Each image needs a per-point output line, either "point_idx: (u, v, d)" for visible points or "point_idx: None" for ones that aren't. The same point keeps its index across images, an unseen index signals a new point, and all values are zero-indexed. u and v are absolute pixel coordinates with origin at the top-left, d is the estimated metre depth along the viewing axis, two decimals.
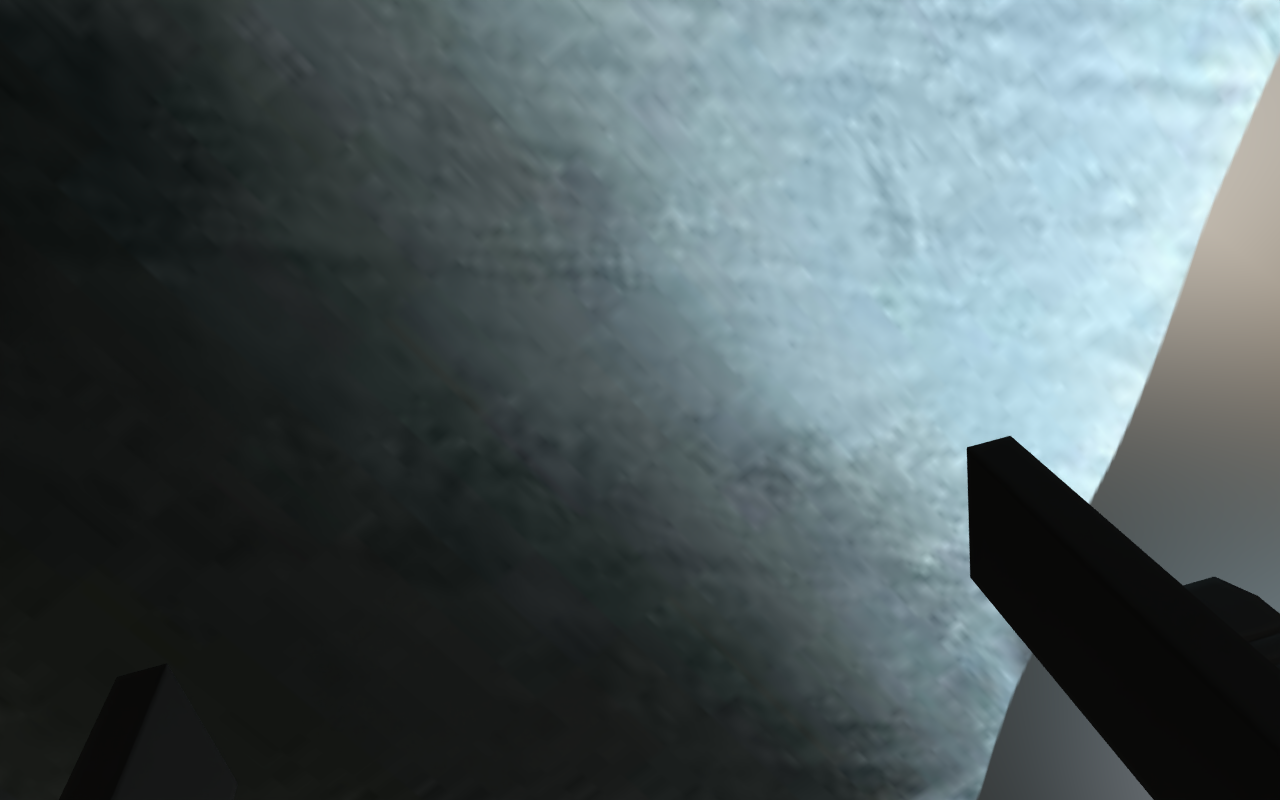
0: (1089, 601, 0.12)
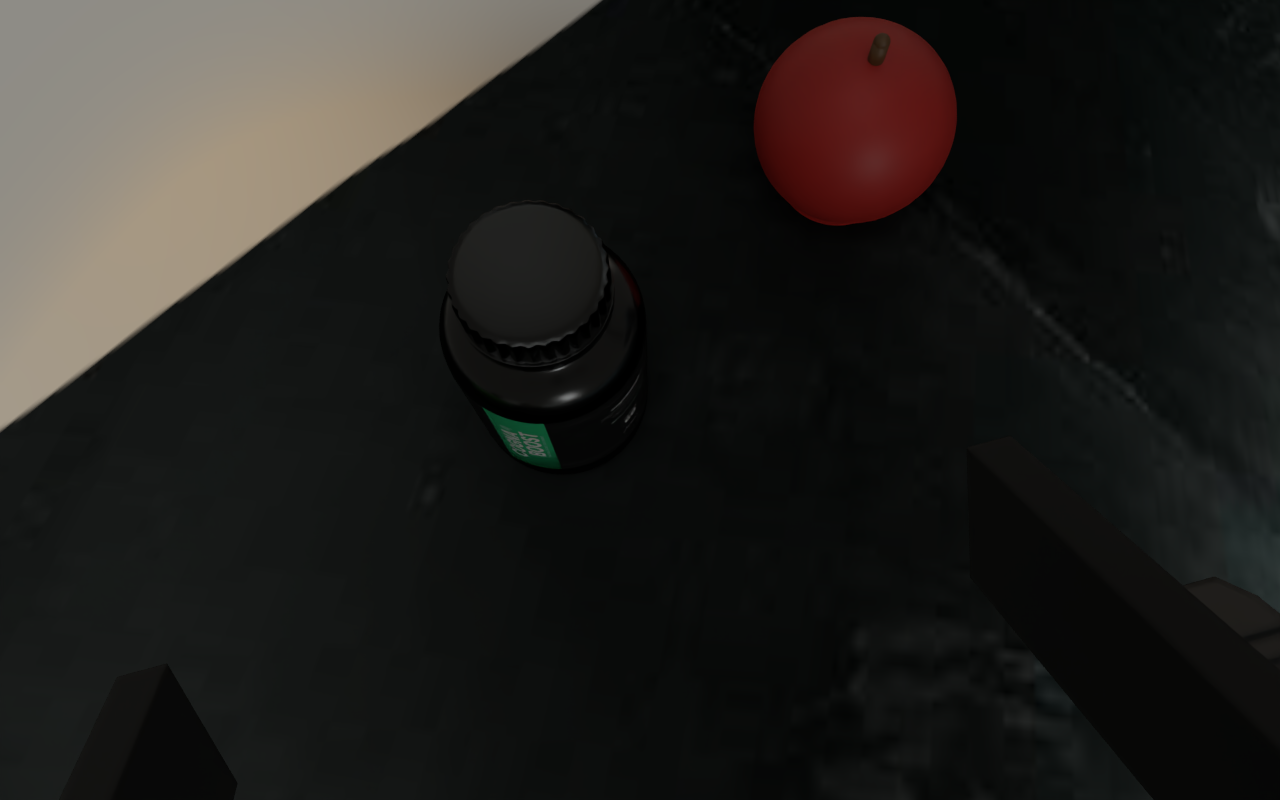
0: (1089, 601, 0.12)
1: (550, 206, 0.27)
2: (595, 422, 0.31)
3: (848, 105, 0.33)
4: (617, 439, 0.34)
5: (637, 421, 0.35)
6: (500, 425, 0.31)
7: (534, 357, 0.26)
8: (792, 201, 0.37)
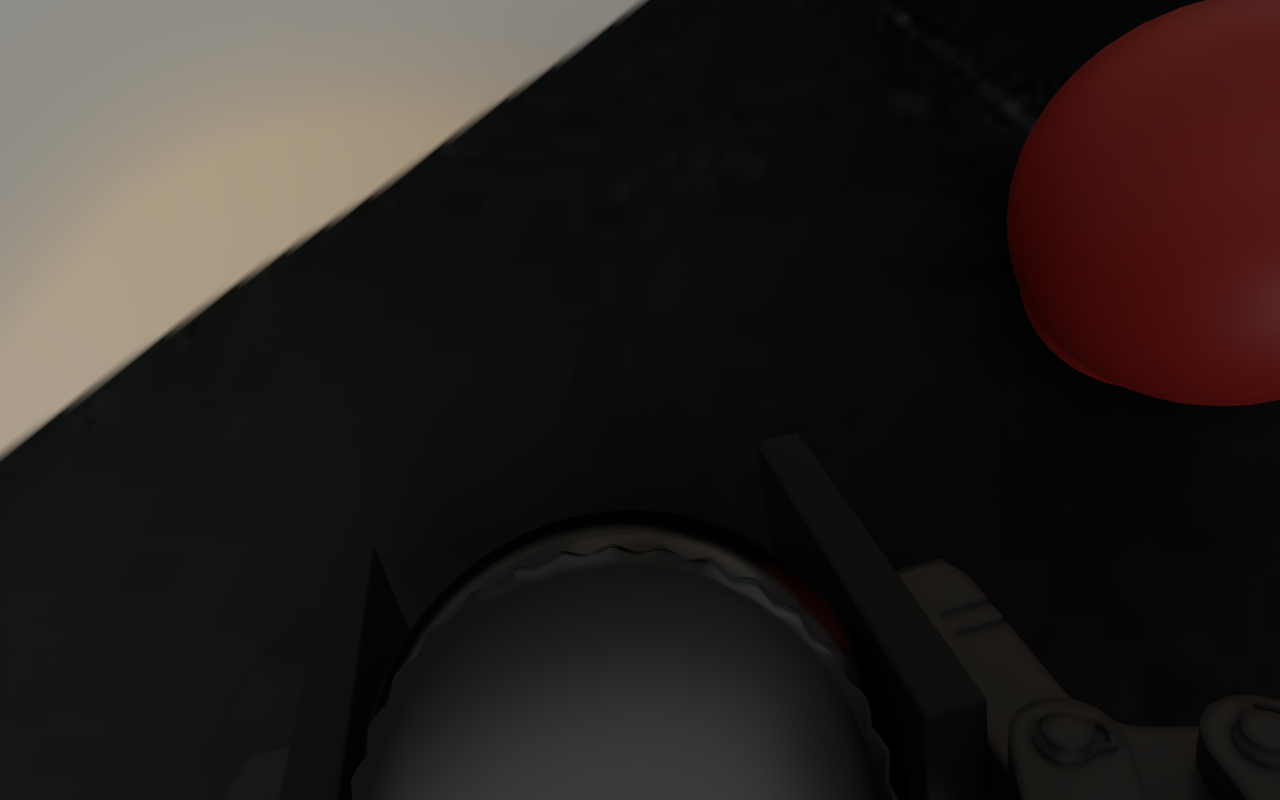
0: (825, 580, 0.13)
1: (691, 571, 0.08)
2: None
3: None
4: None
5: None
6: None
7: None
8: (1098, 364, 0.18)
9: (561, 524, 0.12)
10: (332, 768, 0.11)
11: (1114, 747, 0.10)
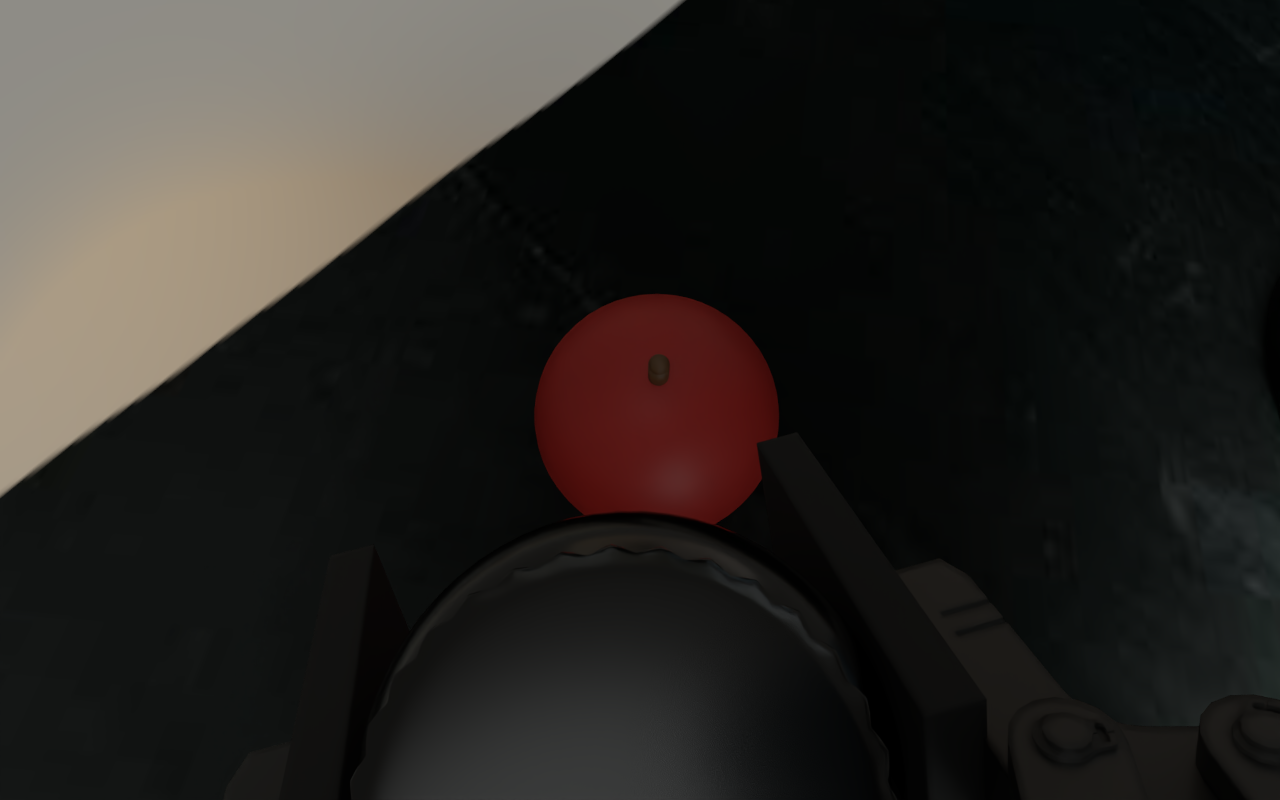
0: (825, 580, 0.13)
1: (690, 572, 0.08)
2: None
3: (623, 435, 0.26)
4: None
5: None
6: None
7: None
8: None
9: (560, 524, 0.12)
10: (332, 768, 0.11)
11: (1114, 747, 0.10)
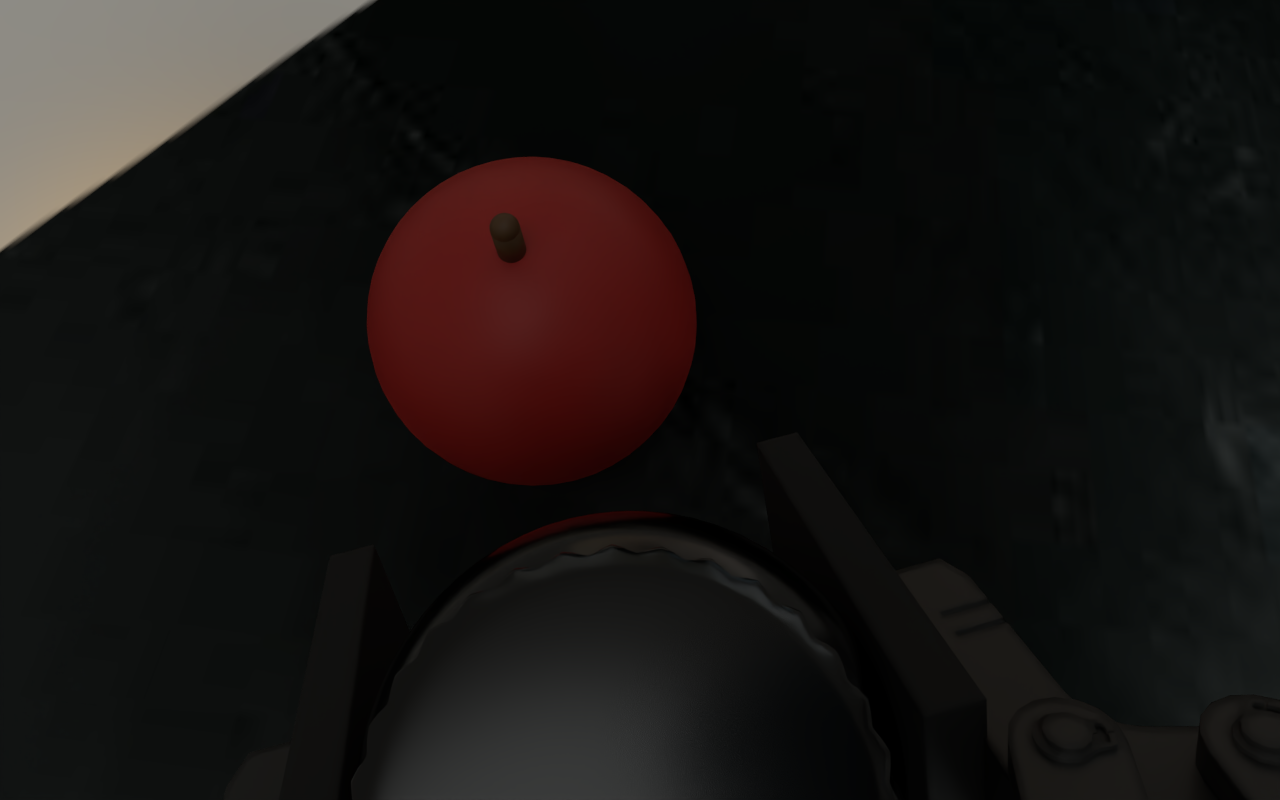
0: (825, 580, 0.13)
1: (691, 572, 0.08)
2: None
3: (463, 333, 0.19)
4: None
5: None
6: None
7: None
8: None
9: (561, 525, 0.12)
10: (332, 768, 0.11)
11: (1114, 747, 0.10)
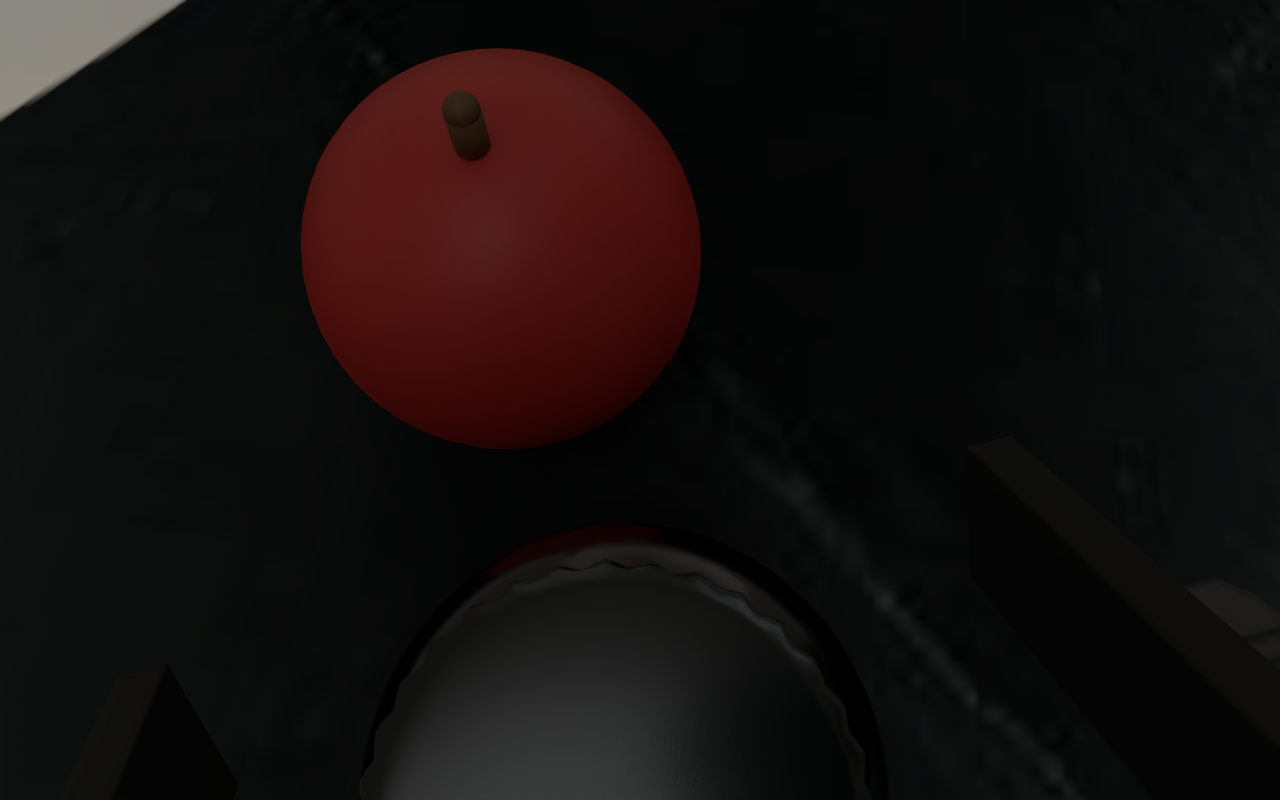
0: (1089, 601, 0.12)
1: (679, 586, 0.09)
2: None
3: (410, 248, 0.15)
4: None
5: None
6: None
7: None
8: None
9: (557, 537, 0.12)
10: None
11: None
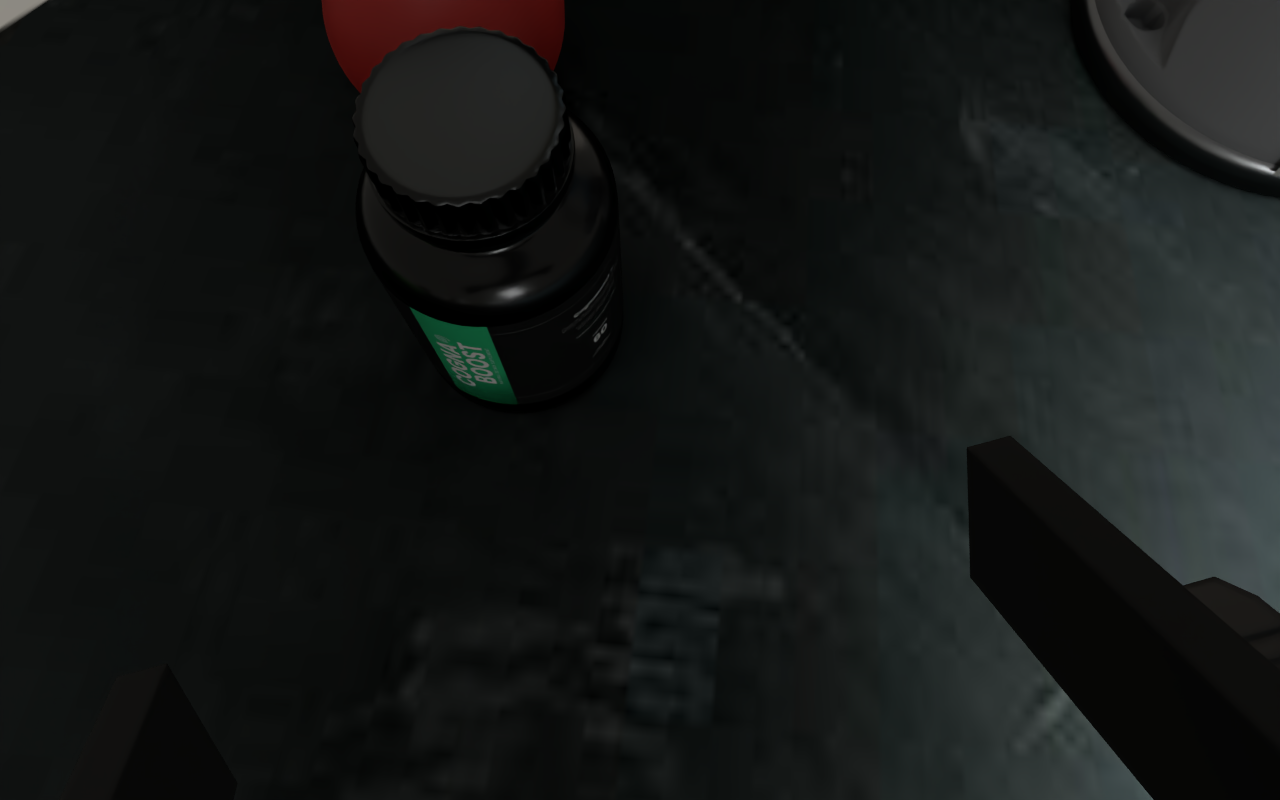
0: (1089, 601, 0.12)
1: (490, 33, 0.21)
2: (554, 331, 0.24)
3: None
4: (585, 366, 0.28)
5: (610, 347, 0.29)
6: (435, 335, 0.24)
7: (468, 225, 0.20)
8: None
9: None
10: None
11: None
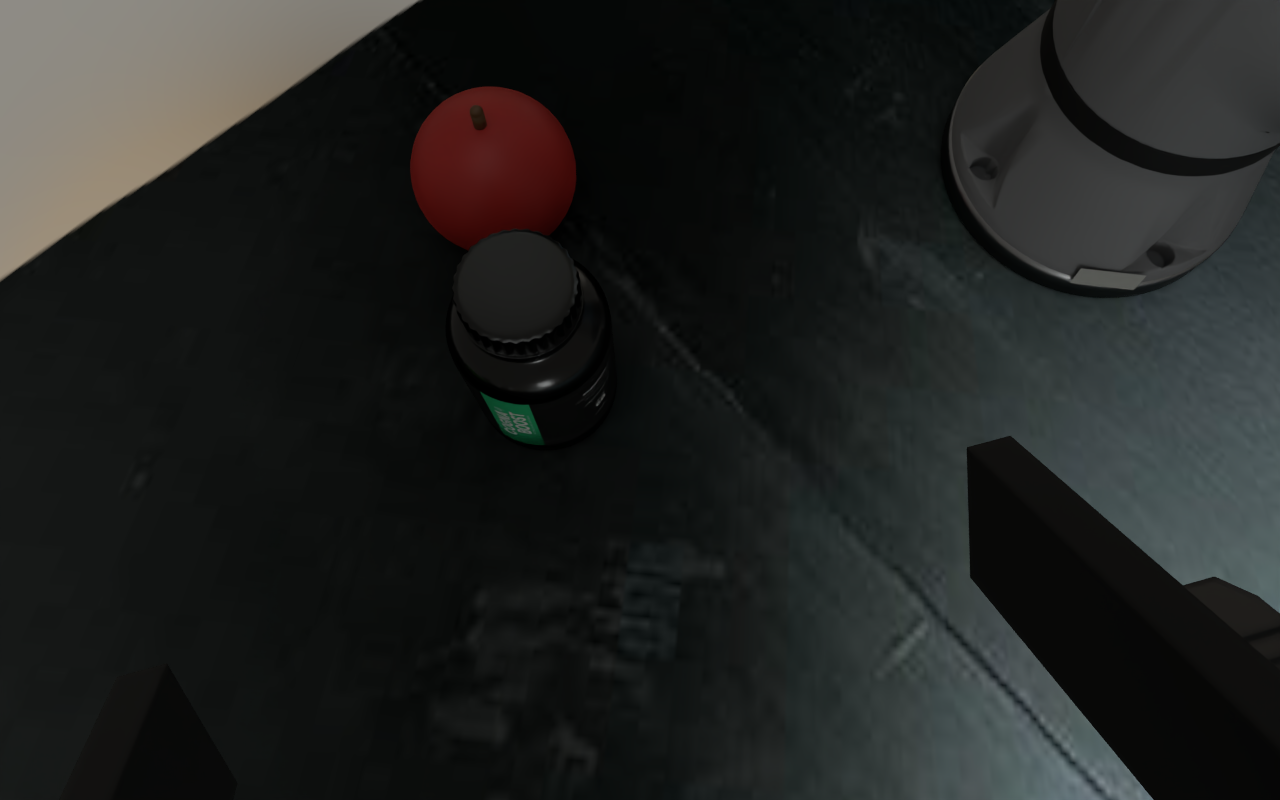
0: (1089, 601, 0.12)
1: (533, 233, 0.34)
2: (570, 404, 0.38)
3: (457, 162, 0.41)
4: (590, 420, 0.42)
5: (607, 406, 0.43)
6: (494, 407, 0.38)
7: (520, 351, 0.34)
8: None
9: None
10: None
11: None
